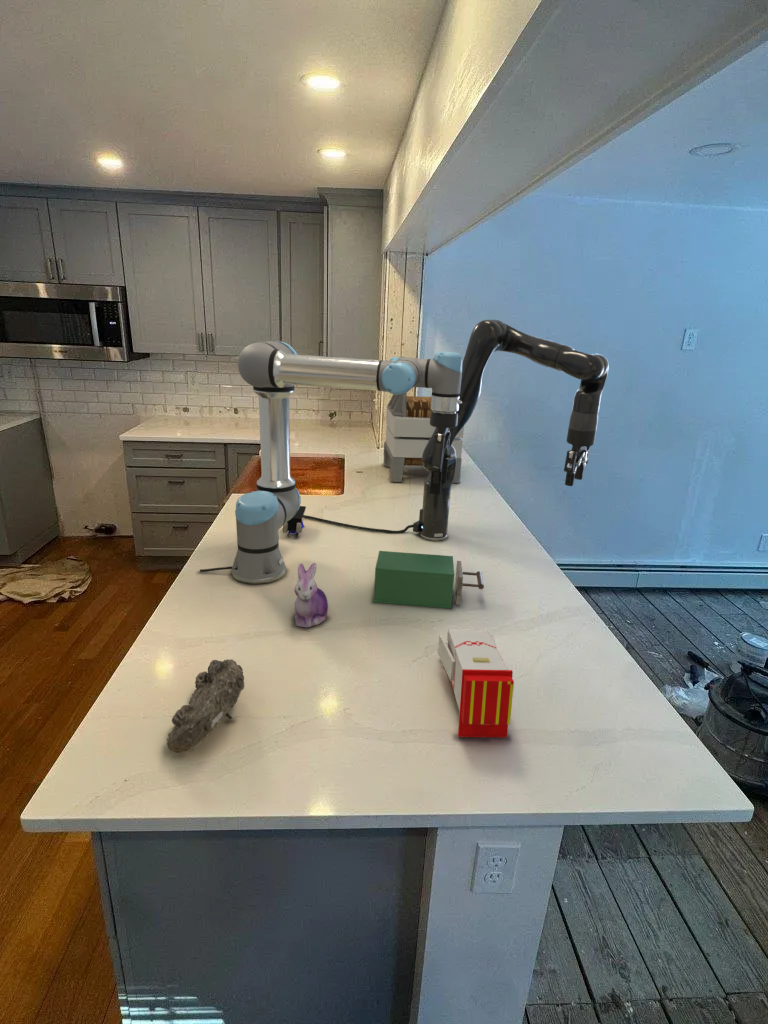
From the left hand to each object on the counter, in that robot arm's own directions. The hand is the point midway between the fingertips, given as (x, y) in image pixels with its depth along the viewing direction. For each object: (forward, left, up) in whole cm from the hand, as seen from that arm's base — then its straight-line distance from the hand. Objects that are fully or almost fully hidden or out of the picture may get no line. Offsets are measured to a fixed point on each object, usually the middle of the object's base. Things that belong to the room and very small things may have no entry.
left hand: (438, 487), depth 160 cm
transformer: (-22, +110, -28) cm, 116 cm away
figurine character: (-51, +20, -28) cm, 62 cm away
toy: (+16, -52, -28) cm, 61 cm away
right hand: (+38, +15, +1) cm, 40 cm away
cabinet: (-3, -13, -28) cm, 31 cm away
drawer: (+3, -12, -27) cm, 30 cm away
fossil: (-31, -73, -28) cm, 84 cm away
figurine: (-26, -34, -28) cm, 51 cm away
